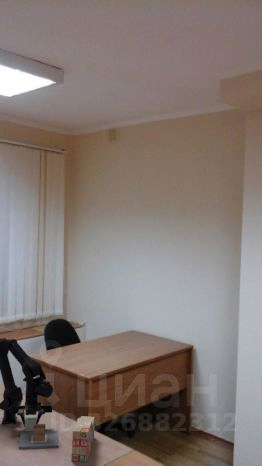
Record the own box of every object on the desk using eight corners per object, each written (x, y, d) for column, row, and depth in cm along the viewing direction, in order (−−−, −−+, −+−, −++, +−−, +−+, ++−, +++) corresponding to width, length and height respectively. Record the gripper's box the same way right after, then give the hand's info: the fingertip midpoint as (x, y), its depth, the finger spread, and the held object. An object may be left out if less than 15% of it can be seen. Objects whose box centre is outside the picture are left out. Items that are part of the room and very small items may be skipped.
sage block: (25, 426, 198) (25, 415, 198) (36, 426, 199) (36, 415, 199) (24, 431, 193) (25, 420, 193) (35, 431, 194) (36, 420, 194)
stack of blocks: (80, 436, 191) (81, 408, 191) (94, 437, 191) (95, 409, 191) (71, 461, 170) (72, 430, 170) (86, 462, 169) (88, 431, 169)
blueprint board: (20, 434, 190) (20, 432, 190) (57, 433, 193) (57, 430, 193) (18, 449, 177) (18, 446, 177) (58, 447, 180) (58, 444, 180)
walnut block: (33, 435, 187) (33, 424, 187) (44, 435, 188) (45, 424, 188) (32, 441, 182) (33, 429, 182) (44, 440, 183) (45, 429, 183)
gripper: (9, 399, 186) (7, 435, 186) (53, 398, 190) (51, 433, 190) (11, 390, 197) (9, 424, 197) (52, 389, 201) (51, 422, 200)
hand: (30, 426), depth 196 cm, fingers closed on sage block, 5 cm apart
